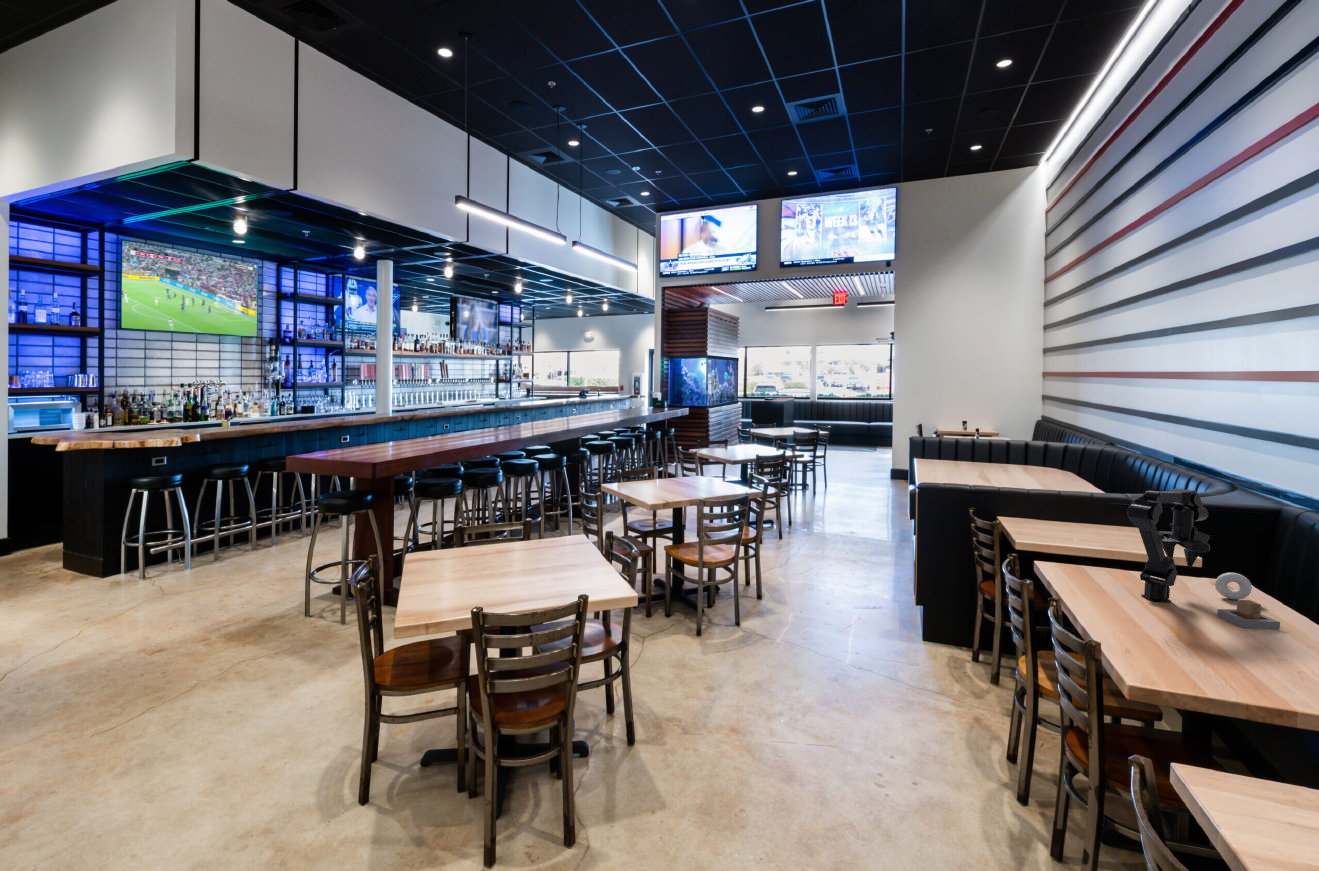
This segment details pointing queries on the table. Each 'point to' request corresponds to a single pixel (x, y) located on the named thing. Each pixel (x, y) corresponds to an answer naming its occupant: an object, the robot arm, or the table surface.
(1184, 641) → the table surface
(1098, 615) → the table surface
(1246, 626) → the square well
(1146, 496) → the robot arm
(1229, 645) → the table surface
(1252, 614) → the walnut post
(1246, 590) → the donut
